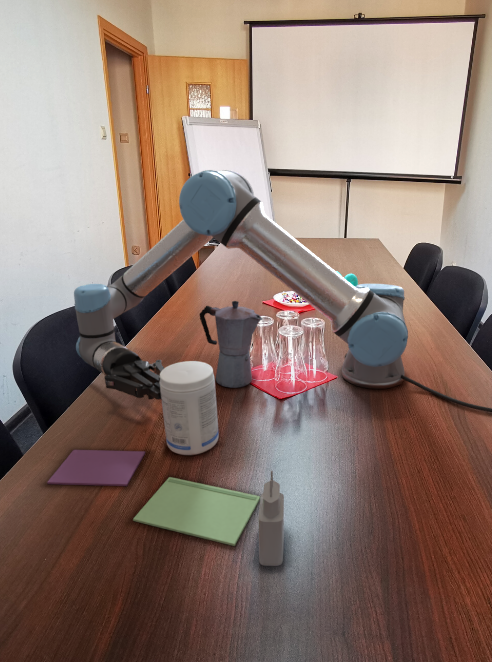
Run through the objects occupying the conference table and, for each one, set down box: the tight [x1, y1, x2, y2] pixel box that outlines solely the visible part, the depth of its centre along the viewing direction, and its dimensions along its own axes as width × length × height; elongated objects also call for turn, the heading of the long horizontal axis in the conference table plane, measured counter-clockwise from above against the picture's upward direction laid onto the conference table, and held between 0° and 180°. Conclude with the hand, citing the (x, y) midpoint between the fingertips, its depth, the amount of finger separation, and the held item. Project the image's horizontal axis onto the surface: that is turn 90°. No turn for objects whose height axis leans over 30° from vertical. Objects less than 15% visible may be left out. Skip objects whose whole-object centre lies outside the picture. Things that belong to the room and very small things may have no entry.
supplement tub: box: [160, 360, 220, 456], centre depth 83 cm, size 10×10×15 cm
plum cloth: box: [46, 449, 146, 487], centre depth 78 cm, size 13×9×1 cm
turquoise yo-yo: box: [335, 270, 359, 287], centre depth 179 cm, size 10×10×10 cm
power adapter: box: [257, 470, 285, 567], centre depth 60 cm, size 3×5×12 cm, turn 179°
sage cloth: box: [132, 476, 261, 547], centre depth 69 cm, size 16×10×1 cm, turn 74°
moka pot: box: [199, 300, 263, 389], centre depth 107 cm, size 10×15×20 cm, turn 78°
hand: (175, 399), depth 87 cm, fingers closed
